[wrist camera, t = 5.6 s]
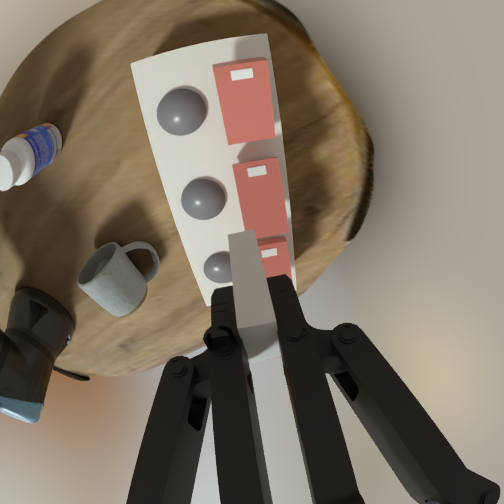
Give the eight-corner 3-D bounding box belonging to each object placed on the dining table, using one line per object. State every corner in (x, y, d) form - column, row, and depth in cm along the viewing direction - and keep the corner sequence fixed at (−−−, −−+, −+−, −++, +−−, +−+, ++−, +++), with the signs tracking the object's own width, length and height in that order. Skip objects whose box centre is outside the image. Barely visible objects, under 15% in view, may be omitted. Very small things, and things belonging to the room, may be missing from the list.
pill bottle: (53, 114, 22) (3, 135, 14) (69, 150, 25) (25, 182, 18) (26, 136, 23) (-21, 163, 15) (42, 169, 26) (-1, 205, 18)
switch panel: (214, 299, 42) (214, 329, 37) (145, 65, 21) (127, 63, 17) (290, 285, 42) (298, 314, 37) (259, 40, 21) (268, 31, 16)
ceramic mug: (120, 291, 39) (109, 329, 33) (86, 255, 34) (68, 291, 28) (173, 266, 38) (167, 306, 31) (139, 223, 33) (124, 259, 27)
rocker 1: (227, 137, 22) (228, 145, 21) (212, 64, 17) (212, 68, 16) (271, 129, 22) (275, 137, 21) (263, 56, 17) (267, 60, 16)
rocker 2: (246, 234, 27) (246, 240, 25) (232, 164, 24) (232, 165, 22) (286, 227, 27) (289, 232, 25) (275, 156, 24) (278, 157, 22)
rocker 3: (258, 297, 32) (259, 305, 31) (247, 242, 29) (248, 248, 28) (291, 291, 32) (294, 298, 31) (284, 236, 29) (287, 241, 28)
